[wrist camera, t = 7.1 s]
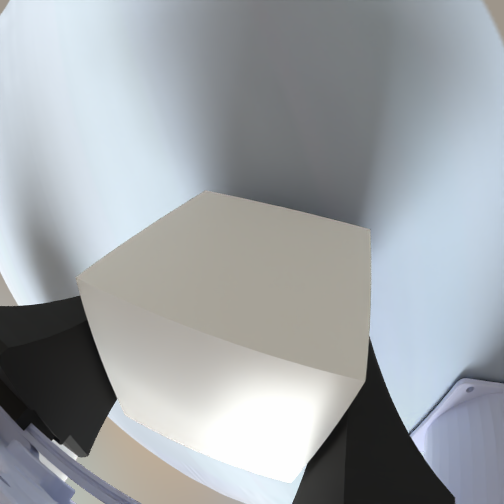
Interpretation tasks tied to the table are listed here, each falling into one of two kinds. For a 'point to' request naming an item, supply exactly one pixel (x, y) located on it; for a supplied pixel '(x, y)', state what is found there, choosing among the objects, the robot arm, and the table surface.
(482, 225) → the table surface
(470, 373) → the table surface
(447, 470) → the robot arm
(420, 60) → the table surface
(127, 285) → the white cubic block
